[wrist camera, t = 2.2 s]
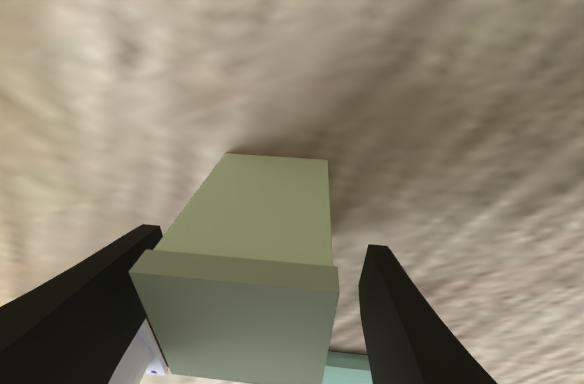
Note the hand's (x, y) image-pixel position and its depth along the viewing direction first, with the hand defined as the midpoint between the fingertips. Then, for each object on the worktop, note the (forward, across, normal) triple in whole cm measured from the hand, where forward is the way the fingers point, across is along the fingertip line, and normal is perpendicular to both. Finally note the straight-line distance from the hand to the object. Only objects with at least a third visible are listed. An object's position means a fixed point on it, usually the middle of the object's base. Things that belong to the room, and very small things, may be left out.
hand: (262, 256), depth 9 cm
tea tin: (+4, 0, 0) cm, 4 cm away
